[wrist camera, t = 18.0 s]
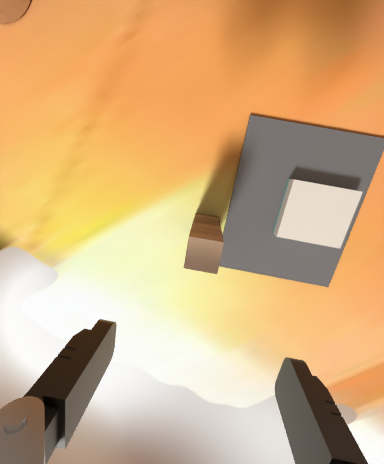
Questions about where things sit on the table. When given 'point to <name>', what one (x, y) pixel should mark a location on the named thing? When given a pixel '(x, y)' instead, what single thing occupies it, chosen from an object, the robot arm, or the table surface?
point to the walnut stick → (204, 244)
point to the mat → (273, 187)
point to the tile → (316, 213)
